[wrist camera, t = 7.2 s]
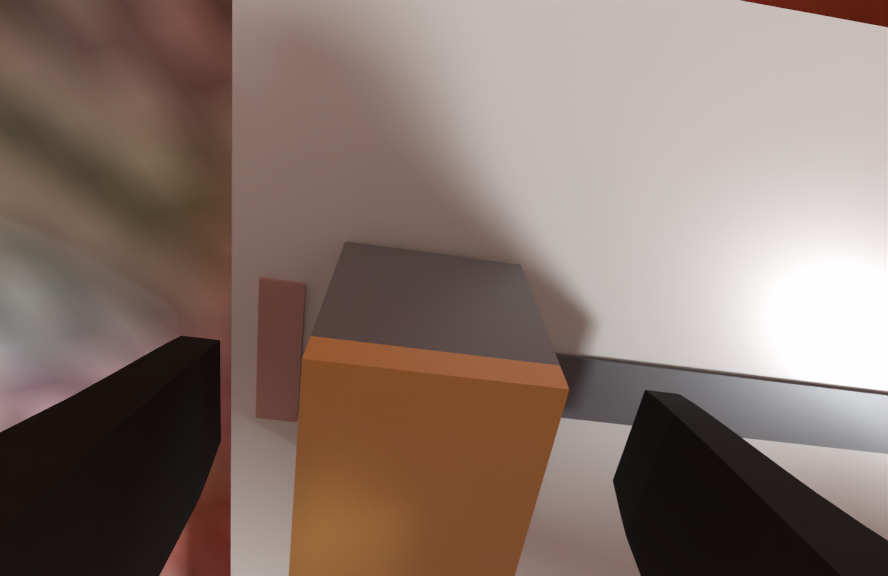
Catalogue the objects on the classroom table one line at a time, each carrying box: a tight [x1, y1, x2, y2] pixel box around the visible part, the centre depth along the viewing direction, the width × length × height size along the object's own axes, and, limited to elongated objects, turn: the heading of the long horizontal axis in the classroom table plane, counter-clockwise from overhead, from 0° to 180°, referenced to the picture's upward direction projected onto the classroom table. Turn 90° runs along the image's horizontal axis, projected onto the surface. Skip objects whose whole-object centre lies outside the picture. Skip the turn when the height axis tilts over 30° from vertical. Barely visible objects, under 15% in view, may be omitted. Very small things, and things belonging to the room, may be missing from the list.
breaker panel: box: [231, 0, 888, 576], centre depth 12 cm, size 17×22×6 cm
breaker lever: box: [289, 241, 569, 576], centre depth 9 cm, size 3×5×4 cm, turn 171°
